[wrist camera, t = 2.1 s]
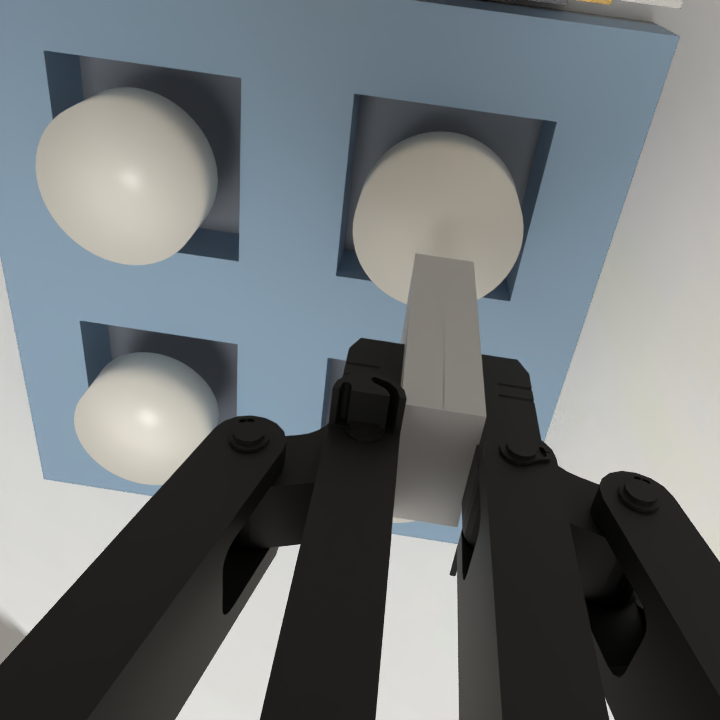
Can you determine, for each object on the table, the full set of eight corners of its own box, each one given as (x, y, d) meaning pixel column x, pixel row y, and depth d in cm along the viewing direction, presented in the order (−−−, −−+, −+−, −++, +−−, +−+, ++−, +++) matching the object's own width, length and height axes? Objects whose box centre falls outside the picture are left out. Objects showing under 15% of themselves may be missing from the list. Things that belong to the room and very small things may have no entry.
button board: (-7, -67, 23) (-62, -64, 20) (653, 22, 22) (679, 36, 20) (72, 438, 35) (43, 479, 33) (502, 505, 34) (506, 551, 32)
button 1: (96, 333, 28) (65, 371, 26) (223, 353, 28) (203, 392, 25) (108, 433, 31) (81, 474, 28) (223, 451, 31) (205, 493, 28)
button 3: (65, 71, 22) (22, 90, 20) (223, 94, 22) (198, 114, 20) (83, 222, 25) (47, 252, 23) (223, 243, 25) (201, 275, 23)
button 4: (370, 115, 22) (362, 137, 20) (533, 137, 22) (542, 163, 20) (354, 262, 25) (344, 296, 23) (496, 283, 25) (502, 320, 23)
